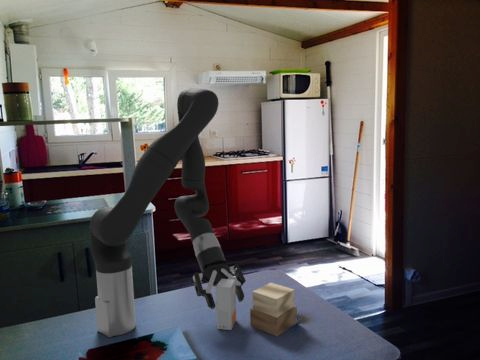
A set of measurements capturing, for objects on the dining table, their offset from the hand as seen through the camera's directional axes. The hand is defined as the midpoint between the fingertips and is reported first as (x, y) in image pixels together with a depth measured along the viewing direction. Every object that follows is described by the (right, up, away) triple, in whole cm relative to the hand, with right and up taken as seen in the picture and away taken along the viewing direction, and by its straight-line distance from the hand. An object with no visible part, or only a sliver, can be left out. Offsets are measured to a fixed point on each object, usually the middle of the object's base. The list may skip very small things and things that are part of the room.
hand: (227, 304), depth 112 cm
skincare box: (0, -6, +2) cm, 6 cm away
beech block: (+12, -1, 0) cm, 12 cm away
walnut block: (+13, -6, +1) cm, 14 cm away
